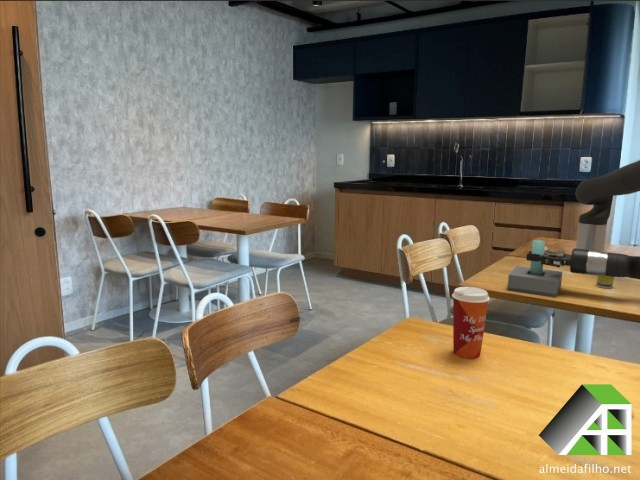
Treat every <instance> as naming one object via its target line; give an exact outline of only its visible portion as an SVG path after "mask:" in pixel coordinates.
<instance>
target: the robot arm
mask: <svg viewBox="0 0 640 480" xmlns="http://www.w3.org/2000/svg"><path fill="white" fill-rule="evenodd" d="M637 192H640V159H639V160H637V161H634V162H631V163H628V164H626V165H624V166H621V167H618V168H617V169H615V170H612V171H610V172H608V173H605V174H603V175H601V176H598V177H593V178H588V179H585V180H582V181H581V182H580V183H579V184H578V185H577V187H576V189H575V198H576V200H577V202H579V203H581V204H582V205H586V206H592V208H591V209H590V210H589V211H587V212H584V213H581V214H580V215H579V217H578V223H577V225H578V226H577V235H576V245H575V248H573V249H572V251H571V254H567V253H566V252H565V251H558V250H557V251H555V250H554V251H553V250H551V251H550V250H544V255H543V254H541V255H540V254H532V250H529V252H528V253H526V257H525V258H526V261H528V262H531V261H537V262H540V263H541V264H543V266H550V267H555V268H563V267H564V266H565V267H566V266H569V271H570V273H572V274H579V275H589V276H596V277H597V276H611V277H614V278H630V279H635V280H640V256H637V255H628V254H625V253H624V254H623V253H618V252H616V253H615V252H606V251H605V244H606V236H607V230H608V229H607V227H608V220H609V218H610V216H611V210H612V205H613V200H614V196H615V197H616V196H624V195H630V194H631V195H632V194H635V193H637Z"/></svg>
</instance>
